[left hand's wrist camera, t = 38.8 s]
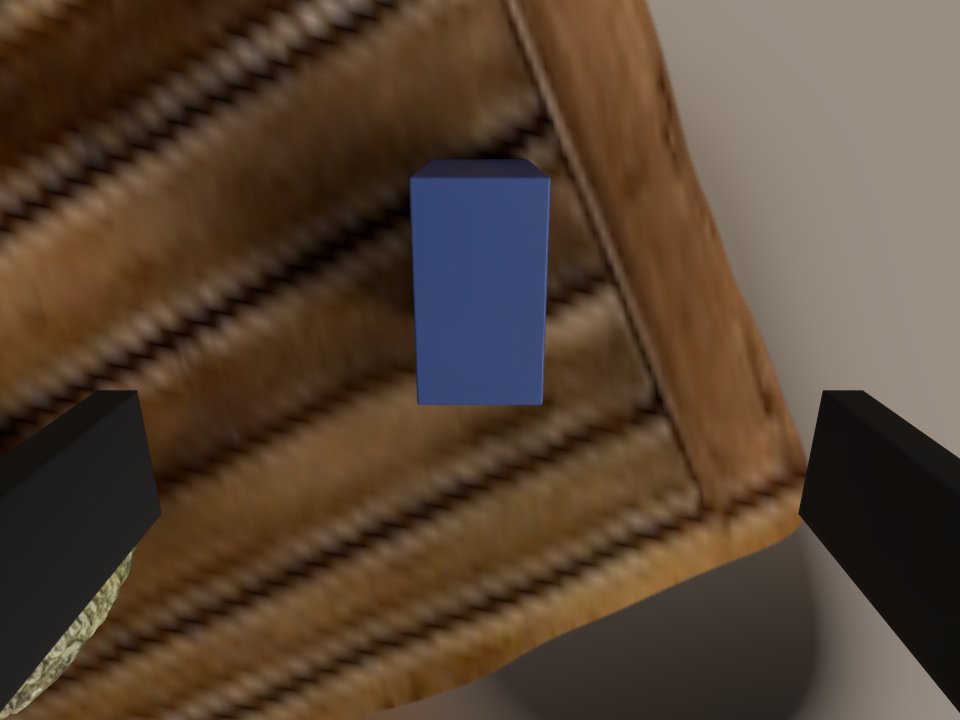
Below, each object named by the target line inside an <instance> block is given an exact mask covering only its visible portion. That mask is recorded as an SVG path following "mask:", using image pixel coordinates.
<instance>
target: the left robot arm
mask: <svg viewBox="0 0 960 720" xmlns="http://www.w3.org/2000/svg"><path fill="white" fill-rule="evenodd" d="M161 514H162V513H161V508H160V503H159V498H158V493H157V488H156V483H155V478H154V473H153V468H152V463H151V458H150V453H149V448H148V443H147V438H146V433H145V428H144V423H143V418H142V412H141V407H140V402H139V397H138V392H137V390H97V391H96V392H94V393H93V394H91V395H90V396H88V397H87V398H86V399H84V400H83V401H81V402H80V403H79V404H77V405H76V406H74V407H73V408H71V409H70V410H69V411H67V412H66V413H64V414H63V415H61V416H60V417H59V418H57V419H56V420H54V421H53V422H52V423H50V424H49V425H47V426H46V427H44V428H43V429H42V430H40V431H39V432H37V433H36V434H34V435H33V436H32V437H30V438H29V439H27V440H26V441H25V442H23V443H22V444H20V445H19V446H17V447H16V448H15V449H13V450H12V451H10V452H9V453H8V454H6V455H5V456H3V457H2V458H0V712H1V711H2V710H3V709H4V708H5V706H6V705H7V704H8V703H9V701H10V700H11V699H12V698H13V696H14V695H15V694H16V693H17V692H18V690H19V689H20V688H21V687H22V685H23V684H24V683H25V682H26V680H27V679H28V678H29V677H30V675H31V674H32V673H33V672H34V671H35V669H36V668H37V667H38V666H39V664H40V663H41V662H42V661H43V659H44V658H45V657H46V656H47V655H48V653H49V652H50V651H51V650H52V648H53V647H54V646H55V645H56V643H57V642H58V641H59V640H60V638H61V637H62V636H63V635H64V634H65V632H66V631H67V630H68V629H69V627H70V626H71V625H72V624H73V622H74V621H75V620H76V619H77V618H78V616H79V615H80V614H81V613H82V611H83V610H84V609H85V608H86V606H87V605H88V604H89V603H90V601H91V600H92V599H93V598H94V597H95V595H96V594H97V593H98V592H99V590H100V589H101V588H102V587H103V585H104V584H105V583H106V582H107V580H108V579H109V578H110V577H111V576H112V574H113V573H114V572H115V571H116V569H117V568H118V567H119V566H120V564H121V563H122V562H123V561H124V560H125V558H126V557H127V556H128V555H129V553H130V552H131V551H132V550H133V548H134V547H135V546H136V545H137V543H138V542H139V541H140V540H141V539H142V537H143V536H144V535H145V534H146V532H147V531H148V530H149V529H150V527H151V526H152V525H153V524H154V523H155V521H156V520H157V519H158V518H159V516H160V515H161ZM798 514H799V515H800V516H801V518H802V519H803V520H804V521H805V523H806V524H807V525H808V526H809V527H810V529H811V530H812V531H813V532H814V534H815V535H816V536H817V537H818V539H819V540H820V541H821V542H822V543H823V545H824V546H825V547H826V548H827V550H828V551H829V552H830V553H831V555H832V556H833V557H834V558H835V559H836V561H837V562H838V563H839V564H840V566H841V567H842V568H843V569H844V571H845V572H846V573H847V574H848V576H849V577H850V578H851V579H852V580H853V582H854V583H855V584H856V585H857V587H858V588H859V589H860V590H861V592H862V593H863V594H864V595H865V597H866V598H867V599H868V600H869V601H870V603H871V604H872V605H873V606H874V608H875V609H876V610H877V611H878V613H879V614H880V615H881V616H882V618H883V619H884V620H885V621H886V622H887V624H888V625H889V626H890V627H891V629H892V630H893V631H894V632H895V634H896V635H897V636H898V637H899V638H900V640H901V641H902V642H903V643H904V645H905V646H906V647H907V648H908V650H909V651H910V652H911V653H912V655H913V656H914V657H915V658H916V659H917V661H918V662H919V663H920V664H921V666H922V667H923V668H924V669H925V671H926V672H927V673H928V674H929V675H930V677H931V678H932V679H933V680H934V682H935V683H936V684H937V685H938V687H939V688H940V689H941V690H942V692H943V693H944V694H945V695H946V696H947V698H948V699H949V700H950V701H951V703H952V704H953V705H954V706H955V708H956V709H957V710H958V711H959V713H960V458H958V457H957V456H955V455H954V454H952V453H951V452H950V451H948V450H947V449H945V448H944V447H943V446H941V445H940V444H938V443H937V442H935V441H934V440H933V439H931V438H930V437H928V436H927V435H926V434H924V433H923V432H921V431H920V430H918V429H917V428H916V427H914V426H913V425H911V424H910V423H908V422H907V421H906V420H904V419H903V418H901V417H900V416H899V415H897V414H896V413H894V412H893V411H891V410H890V409H889V408H887V407H886V406H884V405H883V404H881V403H880V402H879V401H877V400H876V399H874V398H873V397H871V396H870V395H869V394H867V393H866V392H864V391H863V390H823V392H822V398H821V402H820V407H819V413H818V418H817V423H816V428H815V433H814V438H813V443H812V448H811V453H810V458H809V463H808V468H807V473H806V478H805V483H804V488H803V493H802V498H801V503H800V508H799V513H798Z"/></svg>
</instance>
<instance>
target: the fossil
mask: <svg viewBox="0 0 960 720" xmlns="http://www.w3.org/2000/svg"><path fill="white" fill-rule="evenodd" d="M136 548H137V545H136V546H135V547H134V548H133V550H132V551H131V552H130V553H129V555H128V556H127V557H126V558H125V560H124V561H123V562H122V563H121V564H120V566H119V567H118V568H117V569H116V571H115V572H114V573H113V574H112V576H111V577H110V578H109V579H108V580H107V582H106V583H105V584H104V585H103V587H102V588H101V589H100V590H99V592H98V593H97V594H96V595H95V597H94V598H93V599H92V600H91V601H90V603H89V604H88V605H87V606H86V608H85V609H84V610H83V611H82V613H81V614H80V615H79V616H78V618H77V619H76V620H75V621H74V622H73V624H72V625H71V626H70V627H69V629H68V630H67V631H66V632H65V634H64V635H63V636H62V637H61V638H60V640H59V641H58V642H57V643H56V645H55V646H54V647H53V648H52V650H51V651H50V652H49V653H48V655H47V656H46V657H45V658H44V659H43V661H42V662H41V663H40V664H39V666H38V667H37V668H36V669H35V671H34V672H33V673H32V674H31V675H30V677H29V678H28V679H27V680H26V682H25V683H24V684H23V685H22V687H21V688H20V689H19V690H18V692H17V693H16V694H15V695H14V696H13V698H12V699H11V700H10V701H9V703H8V704H7V705H6V706H5V708H4V709H3V710H2V711H1V712H0V720H4V718H5V717H6V716H8V715H9V714H16V713H18V712H19V711H20V710H22V709H23V708H24V707H26V706H27V705H28V704H30V703H31V702H32V701H33V700H34V699H35V698H36V697H37V696H38V695H39V694H41V693H42V692H43V691H44V690H45V689H46V688H48V687H49V686H50V685H51V684H52V683H53V682H55V681H56V680H57V679H58V678H59V676H60V675H61V674H62V673H63V672H64V671H65V670H66V669H67V668H68V666H69V665H70V664H71V663H72V662H73V661H74V660H75V658H76V656H77V655H78V653H79V651H80V650H81V648H82V647H83V646H84V644H85V643H86V641H87V640H88V639H89V638H90V637H91V636H92V635H93V634H94V632H95V630H96V629H97V628H98V626H100V625H101V624H102V623H103V622H104V620H105V618H106V616H107V614H108V612H109V610H110V608H111V607H112V604H113V603H114V601H115V600H116V598H117V597H118V594H119V590H120V587H121V585H122V584H123V582H124V581H125V579H126V578H127V576H128V573H129V571H130V567H131V562H132V558H133V553H134V552H135V550H136Z"/></svg>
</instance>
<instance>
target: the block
mask: <svg viewBox="0 0 960 720" xmlns="http://www.w3.org/2000/svg"><path fill="white" fill-rule="evenodd" d="M550 184H551V179H550V177H549V176H547V175H546V174H545V173H544V172H542V171H541V170H540V169H539V168H537V167H536V166H535V165H534V164H532V163H531V162H530V161H529V160H527V159H433V160H431V161H430V162H428V163H427V164H426V165H425V166H424V167H422V168H421V169H420V170H419V171H417V172H416V173H415V174H414V175H413V176H411V177H410V179H409V190H410V217H411V244H412V271H413V298H414V325H415V352H416V379H417V403H418V405H541V404H542V403H543V378H544V351H545V323H546V295H547V267H548V240H549V212H550Z"/></svg>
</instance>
